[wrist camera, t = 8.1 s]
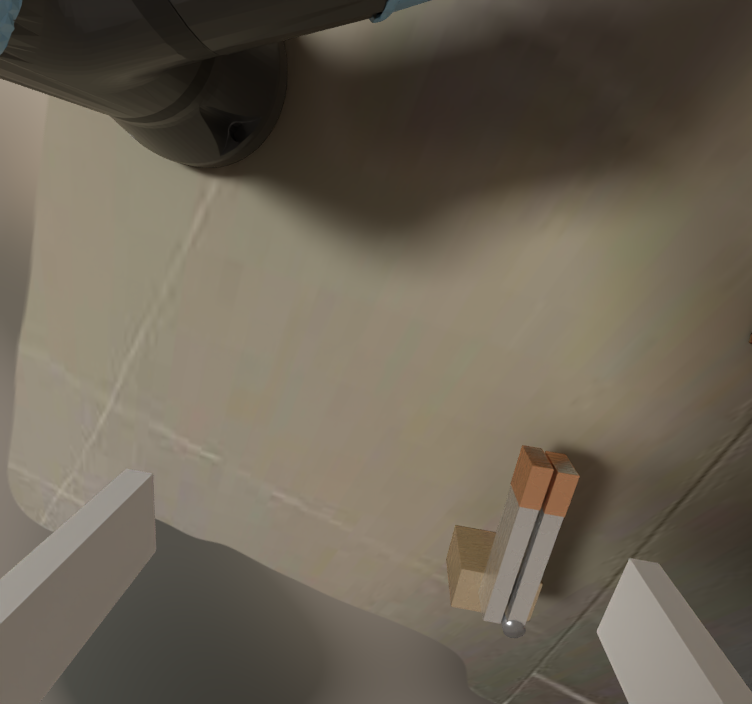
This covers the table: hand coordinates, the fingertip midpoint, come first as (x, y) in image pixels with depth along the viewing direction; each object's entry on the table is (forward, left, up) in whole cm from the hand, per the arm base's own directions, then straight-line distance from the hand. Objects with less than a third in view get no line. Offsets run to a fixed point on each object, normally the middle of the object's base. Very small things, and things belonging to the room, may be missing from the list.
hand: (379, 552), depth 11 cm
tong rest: (+18, +14, -29) cm, 36 cm away
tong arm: (+17, +15, -22) cm, 32 cm away
